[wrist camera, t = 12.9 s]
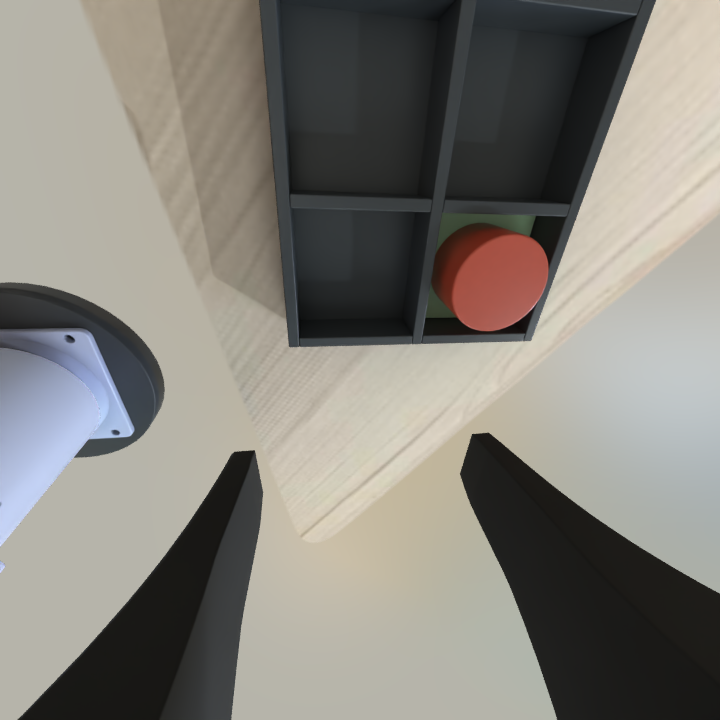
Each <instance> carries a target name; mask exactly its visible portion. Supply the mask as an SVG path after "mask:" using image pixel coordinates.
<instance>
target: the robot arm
mask: <svg viewBox="0 0 720 720" xmlns="http://www.w3.org/2000/svg"><path fill="white" fill-rule="evenodd" d="M68 335H70V336H72V337H73V338H74V339H75V340H73V339H71V338H70V337H69V336H68ZM117 430H118V431H117ZM133 432H134V426H133V424H132V422H131V420H130V417H129V415H128V413H127V411H126V409H125V406H124V404H123V402H122V400H121V397H120V395H119V393H118V391H117V388H116V386H115V384H114V382H113V380H112V377H111V375H110V373H109V371H108V368H107V366H106V364H105V362H104V359H103V357H102V355H101V353H100V351H99V348H98V346H97V344H96V342H95V339H94V337H93V335H92V334H91V333H90V332H89V331H88V330H86V329H83V328H44V329H0V547H1V545H2V544H3V543H4V542H5V540H6V539H7V538H8V537H9V536H10V534H11V533H12V532H13V531H14V529H15V528H16V527H17V526H18V525H19V523H20V522H21V521H22V520H23V518H24V517H25V516H26V515H27V513H28V512H29V511H30V510H31V509H32V507H33V506H34V505H35V504H36V503H37V501H38V500H39V499H40V498H41V496H42V495H43V494H44V493H45V492H46V490H47V489H48V488H49V487H50V485H51V484H52V483H53V482H54V481H55V479H56V478H57V477H58V476H59V474H60V473H61V472H62V471H63V469H64V468H65V467H66V466H67V465H68V463H69V462H70V461H71V460H72V459H73V457H74V456H75V455H76V454H77V453H78V451H79V450H80V449H81V448H82V446H83V445H84V444H85V443H86V442H87V440H88V439H100V438H117V437H129V436H131V435H132V433H133ZM460 475H461V478H462V481H463V484H464V488H465V490H466V493H467V496H468V499H469V501H470V504H471V506H472V508H473V510H474V513H475V515H476V517H477V519H478V521H479V523H480V525H481V527H482V529H483V531H484V533H485V535H486V537H487V539H488V541H489V543H490V545H491V547H492V550H493V552H494V554H495V556H496V558H497V560H498V562H499V564H500V566H501V568H502V570H503V572H504V574H505V576H506V579H507V581H508V583H509V585H510V588H511V590H512V593H513V595H514V598H515V601H516V603H517V606H518V608H519V611H520V613H521V616H522V619H523V621H524V624H525V626H526V629H527V632H528V635H529V638H530V640H531V643H532V646H533V649H534V651H535V654H536V656H537V660H538V662H539V665H540V668H541V671H542V674H543V677H544V680H545V683H546V686H547V689H548V692H549V695H550V698H551V701H552V704H553V707H554V710H555V713H556V717H557V720H720V594H719V593H717V592H716V591H714V590H712V589H710V588H708V587H706V586H705V585H703V584H701V583H699V582H697V581H696V580H694V579H692V578H690V577H689V576H687V575H685V574H683V573H682V572H680V571H678V570H676V569H675V568H673V567H671V566H670V565H668V564H666V563H665V562H663V561H661V560H660V559H658V558H656V557H655V556H653V555H651V554H650V553H648V552H647V551H645V550H643V549H642V548H640V547H639V546H637V545H635V544H634V543H632V542H631V541H629V540H628V539H626V538H625V537H623V536H622V535H620V534H619V533H617V532H616V531H614V530H613V529H611V528H609V527H608V526H607V525H605V524H604V523H602V522H601V521H599V520H598V519H596V518H595V517H593V516H592V515H591V514H589V513H588V512H587V511H585V510H584V509H583V508H581V507H580V506H578V505H577V504H576V503H575V502H573V501H572V500H571V499H569V498H568V497H567V496H565V495H564V494H563V493H561V492H560V491H559V490H558V489H556V488H555V487H554V486H552V485H551V484H550V483H549V482H547V481H546V480H545V479H544V478H542V477H541V476H540V475H539V474H538V473H536V472H535V471H534V470H533V469H531V468H530V467H529V466H528V465H527V464H525V463H524V462H523V461H522V460H521V459H520V458H518V457H517V456H516V455H515V454H514V453H512V452H511V451H510V450H509V449H508V448H507V447H505V446H504V445H503V444H502V443H501V442H499V441H498V440H497V439H496V438H495V437H493V436H492V435H491V434H490V433H482V434H472V436H471V440H470V443H469V447H468V450H467V453H466V456H465V459H464V463H463V466H462V469H461V473H460ZM262 497H263V490H262V485H261V480H260V474H259V469H258V465H257V459H256V454H255V451H254V450H253V451H241V452H240V451H239V452H234V453H233V454H232V455H231V456H230V458H229V460H228V462H227V464H226V465H225V467H224V469H223V471H222V472H221V474H220V476H219V477H218V479H217V480H216V482H215V484H214V485H213V487H212V488H211V490H210V492H209V493H208V495H207V496H206V498H205V499H204V501H203V502H202V504H201V505H200V507H199V508H198V510H197V511H196V513H195V514H194V516H193V517H192V519H191V520H190V522H189V523H188V525H187V526H186V528H185V529H184V530H183V532H182V533H181V534H180V536H179V537H178V538H177V540H176V541H175V543H174V544H173V545H172V547H171V548H170V549H169V551H168V552H167V554H166V555H165V556H164V557H163V559H162V560H161V561H160V563H159V564H158V565H157V566H156V568H155V569H154V570H153V571H152V573H151V574H150V575H149V577H148V578H147V579H146V580H145V582H144V583H143V584H142V585H141V586H140V587H139V589H138V590H137V591H136V593H135V594H134V595H133V596H132V597H131V599H130V600H129V601H128V602H127V603H126V604H125V605H124V606H123V608H122V609H121V610H120V611H119V612H118V613H117V615H116V616H115V617H114V618H113V619H112V620H111V621H110V622H109V624H108V625H107V626H106V627H105V628H104V629H103V631H102V632H101V633H100V634H99V635H98V636H97V637H96V638H95V639H94V641H93V642H92V643H91V644H90V645H89V646H88V647H87V648H86V649H85V650H84V652H83V653H82V654H81V655H80V656H79V657H78V658H77V659H76V660H75V661H74V662H73V663H72V664H71V665H70V666H69V667H68V668H67V669H66V670H65V672H63V674H62V675H61V676H60V677H59V678H58V679H57V680H56V681H55V682H54V683H53V684H52V685H51V686H50V687H49V688H48V689H47V690H46V691H45V692H44V694H42V695H41V696H40V698H39V699H38V700H37V701H36V702H35V703H34V704H33V705H32V706H31V707H30V708H29V709H28V710H27V711H26V712H25V713H24V714H23V715H22V716H21V717H20V718H19V719H18V720H231V715H232V705H233V696H234V686H235V676H236V667H237V658H238V649H239V641H240V632H241V624H242V618H243V611H244V606H245V601H246V595H247V590H248V585H249V580H250V575H251V570H252V565H253V560H254V555H255V549H256V544H257V539H258V534H259V528H260V520H261V510H262ZM4 568H5V564H4V563H3V562H1V561H0V573H1V572H2V570H3V569H4Z"/></svg>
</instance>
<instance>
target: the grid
mask: <svg viewBox="0 0 720 720" xmlns="http://www.w3.org/2000/svg"><path fill="white" fill-rule="evenodd" d="M655 2H656V0H259V5H260V16H261V28H262V39H263V51H264V63H265V74H266V86H267V97H268V109H269V120H270V132H271V143H272V155H273V166H274V178H275V190H276V201H277V213H278V224H279V236H280V247H281V259H282V270H283V282H284V294H285V305H286V317H287V328H288V340H289V347H299V346H300V347H318V346H356V345H395V344H411V343H412V344H421V343H422V344H433V343H472V342H511V341H531V340H532V337H533V334H534V332H535V329H536V326H537V323H538V321H539V318H540V315H541V312H542V310H543V307H544V304H545V302H546V299H547V296H548V293H549V291H550V288H551V285H552V283H553V280H554V277H555V274H556V272H557V269H558V266H559V263H560V261H561V258H562V255H563V253H564V250H565V247H566V244H567V242H568V239H569V236H570V233H571V231H572V228H573V225H574V223H575V220H576V217H577V214H578V212H579V209H580V206H581V203H582V201H583V198H584V195H585V193H586V190H587V187H588V184H589V182H590V179H591V176H592V173H593V171H594V168H595V165H596V163H597V160H598V157H599V154H600V152H601V149H602V146H603V143H604V141H605V138H606V135H607V133H608V130H609V127H610V124H611V122H612V119H613V116H614V114H615V111H616V108H617V105H618V103H619V100H620V97H621V94H622V92H623V89H624V86H625V84H626V81H627V78H628V75H629V73H630V70H631V67H632V64H633V62H634V59H635V56H636V54H637V51H638V48H639V45H640V43H641V40H642V37H643V34H644V32H645V29H646V26H647V24H648V21H649V18H650V15H651V13H652V10H653V7H654V4H655ZM474 223H489V224H493V225H496V226H499V227H502V228H505V229H508V230H511V231H514V232H517V233H520V234H524V235H527V236H529V237H531V238H533V239H534V240H535V241H537V242H538V243H539V244H540V245H541V247H542V248H543V250H544V252H545V254H546V256H547V260H548V278H547V283H546V286H545V289H544V291H543V293H542V295H541V297H540V299H539V300H538V302H537V303H536V305H535V306H534V307H533V308H532V309H531V310H530V311H529V312H528V313H527V314H526V315H525V316H524V317H523V318H521V319H520V320H519V321H517V322H516V323H514V324H512V325H510V326H508V327H505V328H502V329H499V330H494V331H479V330H475V329H472V328H470V327H468V326H466V325H465V324H463V323H462V322H461V321H460V320H459V319H458V318H457V317H456V316H455V315H454V314H453V313H452V312H451V311H450V309H449V308H448V307H447V306H446V305H445V304H444V303H443V302H442V301H441V300H440V299H439V298H438V297H437V295H436V294H435V292H434V290H433V287H432V283H431V279H432V273H433V267H434V260H435V255H436V253H437V251H438V249H439V248H440V246H441V245H442V243H443V242H444V241H445V240H446V239H447V238H448V237H449V236H450V235H451V234H452V233H454V232H455V231H457V230H458V229H460V228H462V227H464V226H467V225H470V224H474Z"/></svg>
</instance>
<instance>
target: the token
mask: <svg viewBox="0 0 720 720" xmlns="http://www.w3.org/2000/svg"><path fill="white" fill-rule="evenodd" d="M547 278H548V260H547V256H546V254H545V252H544V250H543V248H542V247H541V245H540V244H539V243H538V242H537V241H535V240H534V239H533V238H531V237H529V236H527V235H524V234H520V233H517V232H514V231H511V230H508V229H505V228H502V227H499V226H496V225H493V224H489V223H474V224H470V225H467V226H464V227H462V228H460V229H458V230H457V231H455V232H454V233H452V234H451V235H450V236H449V237H448V238H447V239H446V240H445V241H444V242H443V243H442V245H441V246H440V248H439V249H438V251H437V253H436V255H435V260H434V267H433V273H432V279H431V283H432V287H433V290H434V292H435V294H436V295H437V297H438V298H439V299H440V300H441V301H442V302H443V303H444V304H445V305H446V306H447V307H448V308H449V309H450V311H451V312H452V313H453V314H454V315H455V316H456V317H457V318H458V319H459V320H460V321H461V322H462V323H463V324H465V325H466V326H468V327H470V328H472V329H475V330H479V331H494V330H499V329H502V328H505V327H508V326H510V325H512V324H514V323H516V322H517V321H519V320H520V319H521V318H523V317H524V316H525V315H526V314H527V313H528V312H529V311H530V310H531V309H532V308H533V307H534V306H535V305H536V303H537V302H538V300H539V299H540V297H541V295H542V293H543V291H544V289H545V286H546V283H547Z"/></svg>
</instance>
